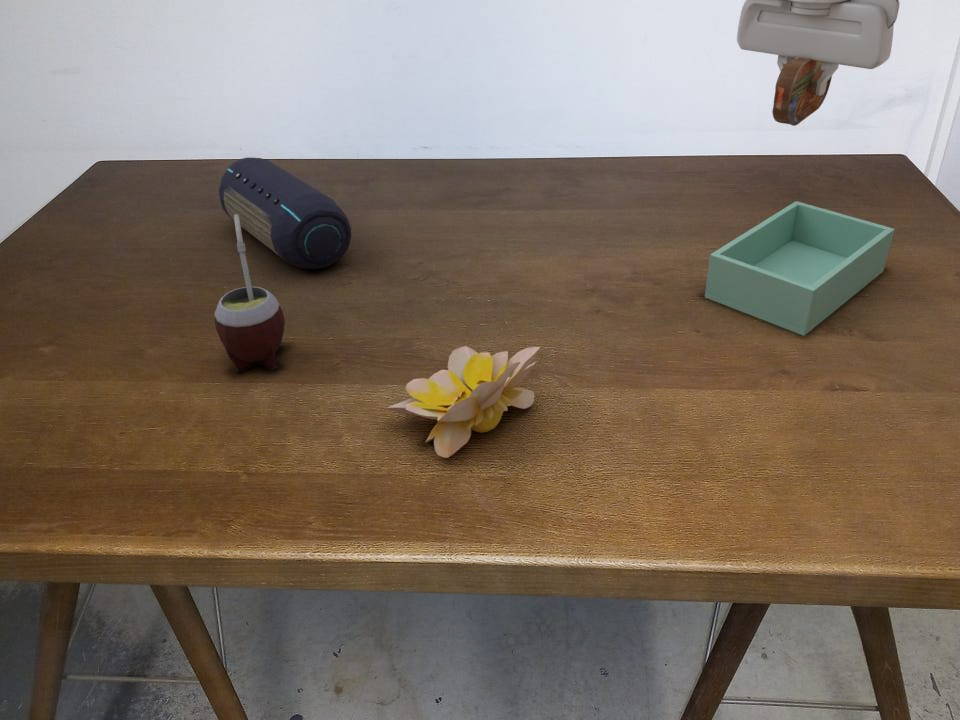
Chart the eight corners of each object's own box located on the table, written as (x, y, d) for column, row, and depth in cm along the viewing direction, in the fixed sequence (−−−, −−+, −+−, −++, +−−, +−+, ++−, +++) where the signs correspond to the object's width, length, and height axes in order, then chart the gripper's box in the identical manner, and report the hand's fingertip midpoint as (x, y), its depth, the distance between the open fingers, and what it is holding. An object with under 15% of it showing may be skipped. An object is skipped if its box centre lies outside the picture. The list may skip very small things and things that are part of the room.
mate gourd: (252, 387, 85) (220, 260, 77) (209, 361, 90) (174, 238, 81) (308, 355, 90) (283, 232, 81) (264, 332, 94) (236, 212, 86)
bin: (788, 241, 107) (795, 200, 104) (883, 272, 100) (895, 228, 96) (704, 298, 96) (709, 254, 93) (803, 337, 89) (813, 290, 85)
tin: (785, 133, 109) (799, 69, 104) (763, 128, 110) (775, 65, 105) (828, 103, 118) (842, 42, 113) (806, 98, 119) (820, 38, 114)
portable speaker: (218, 226, 119) (201, 160, 114) (280, 206, 124) (267, 142, 118) (296, 289, 102) (281, 216, 97) (364, 264, 107) (354, 193, 102)
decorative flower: (487, 343, 87) (493, 273, 80) (561, 408, 82) (575, 339, 74) (372, 411, 80) (367, 341, 73) (445, 487, 75) (448, 419, 67)
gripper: (913, -15, 100) (888, 98, 107) (762, -28, 112) (749, 74, 120) (891, -6, 96) (866, 111, 104) (737, -20, 109) (725, 85, 116)
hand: (802, 91), depth 112 cm, fingers closed on tin, 3 cm apart
